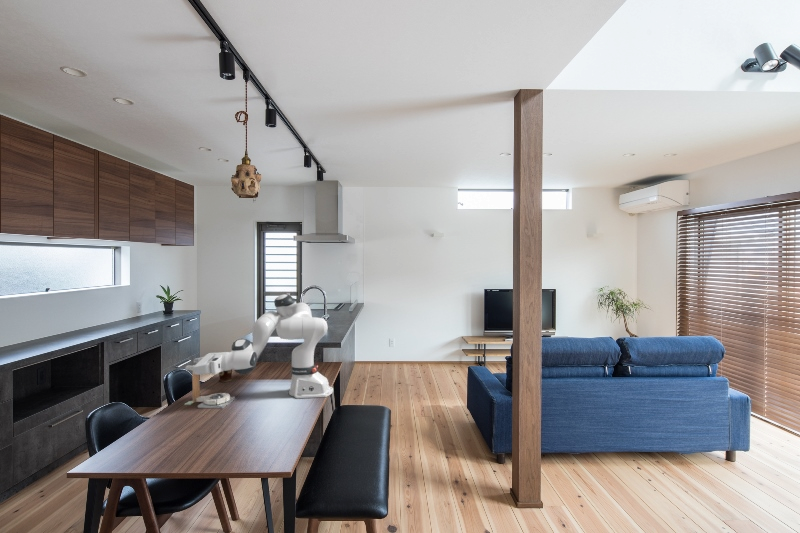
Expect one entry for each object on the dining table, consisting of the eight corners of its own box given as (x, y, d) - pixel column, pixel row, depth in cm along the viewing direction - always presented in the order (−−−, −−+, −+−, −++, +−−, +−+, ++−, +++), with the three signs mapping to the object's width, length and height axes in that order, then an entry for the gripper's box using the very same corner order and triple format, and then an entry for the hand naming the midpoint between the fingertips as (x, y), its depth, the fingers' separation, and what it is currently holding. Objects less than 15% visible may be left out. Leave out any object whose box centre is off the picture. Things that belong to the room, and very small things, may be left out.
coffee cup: (219, 383, 218) (219, 360, 218) (215, 380, 225) (214, 358, 225) (235, 380, 224) (235, 358, 224) (230, 377, 230) (230, 355, 230)
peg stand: (233, 396, 192) (232, 364, 192) (223, 404, 181) (222, 370, 181) (199, 396, 192) (198, 364, 192) (186, 404, 181) (186, 370, 181)
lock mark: (195, 401, 189) (195, 401, 189) (190, 404, 185) (190, 404, 185) (189, 401, 189) (189, 401, 189) (184, 404, 185) (184, 403, 185)
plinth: (235, 399, 192) (234, 391, 192) (222, 408, 180) (222, 399, 180) (211, 399, 193) (211, 391, 193) (197, 408, 181) (197, 399, 181)
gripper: (226, 348, 196) (197, 350, 195) (212, 362, 176) (180, 365, 174) (227, 360, 197) (198, 362, 195) (214, 376, 177) (182, 378, 175)
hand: (190, 364), depth 185 cm, fingers open, 8 cm apart
